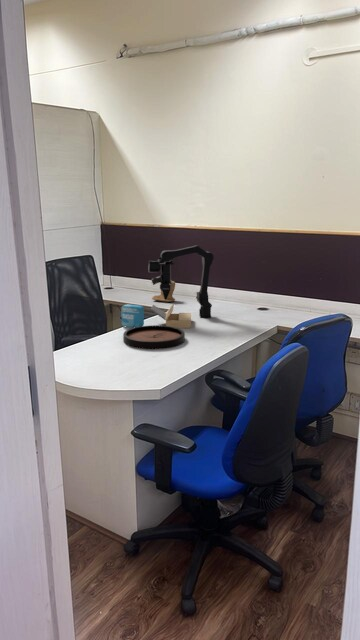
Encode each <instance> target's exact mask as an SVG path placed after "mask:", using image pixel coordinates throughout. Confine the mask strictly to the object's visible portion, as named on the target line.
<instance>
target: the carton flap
mask: <svg viewBox="0 0 360 640" xmlns="http://www.w3.org/2000/svg"><path fill="white" fill-rule="evenodd" d="M174 305H175V304H174V303H172V305H171V306H170V307H169V309H168V310H167V311H166V312H165V311H163V310H161V308H159V307H158V306H156V305H155V304H152V306H151V309H150V311H152V313H154V314H156V315H158V317H160V318H161V319H163V320H164V321H166V320H167V318H168V317H169V316H170V314H173V312H174Z"/></svg>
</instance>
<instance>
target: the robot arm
mask: <svg viewBox="0 0 360 640" xmlns="http://www.w3.org/2000/svg"><path fill="white" fill-rule="evenodd" d="M195 253H196V254H197V255H199V256H200V257H201V263H202V273H201V280H200V288H199V291H197V292H196V297H195V299H196V302H198V304H199V306H200V308H199V309H198V310H199V312H198V313H199V314H198V315H199V317H200V319H201V318H202V319H203V318H205V319H206V318H210V319H211V318H212V313H211V312H212V306H213V304H212V303H211V302H209V292H208V286H209V278H210V269H211V266H212V264H213V263H214V262H213V261H214V258H215V257H214V254H213V253H212V252H210V251H208V250H206V251H205V250H204V249H203V248H202V247H200V245H196V244H195V245H192V246H188V247H183V248H178V249H173V250H172V249H171V250H170V249H168V250H165V249H164V250H162V251H161V253H160V256H159V258H158V259H157V260H148V266H147V269H148V273H159V272H160V275H159V276H155V277H152V278H151V283H152V285H153V286H154V285H156V284H159V289H160V291H161V290H162V291H163V294H164V299H165V300H167V297H168V294H169V292H170V289H171V284H172V281H173V280H172V271H171V270H172V269H171V268H172V266H173V265H175V263H174V262H173V260H174V259H176V258H178V257H183V256H187V255H191V254H195ZM160 283H161V284H160Z"/></svg>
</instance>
